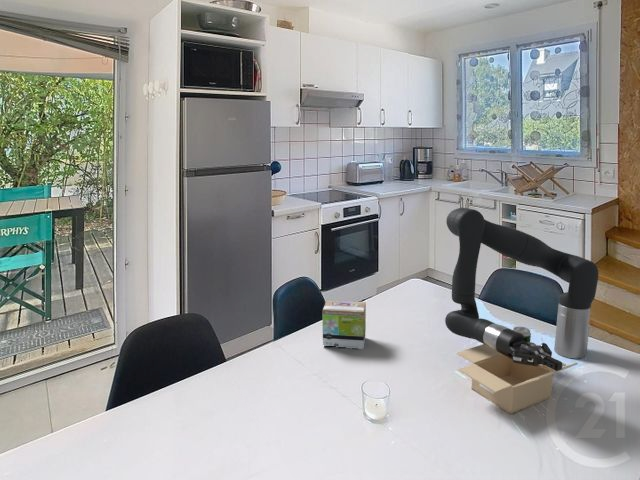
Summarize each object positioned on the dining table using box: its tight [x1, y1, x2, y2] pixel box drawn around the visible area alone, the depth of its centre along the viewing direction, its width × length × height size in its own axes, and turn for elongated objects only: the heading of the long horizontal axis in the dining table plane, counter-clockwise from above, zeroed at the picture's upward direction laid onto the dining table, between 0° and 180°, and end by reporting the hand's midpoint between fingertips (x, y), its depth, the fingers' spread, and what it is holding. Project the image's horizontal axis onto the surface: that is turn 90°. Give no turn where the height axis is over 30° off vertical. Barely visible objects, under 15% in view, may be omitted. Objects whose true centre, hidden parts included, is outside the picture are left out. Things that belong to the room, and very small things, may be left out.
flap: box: [515, 362, 578, 387], centre depth 113 cm, size 15×1×8 cm
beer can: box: [512, 326, 532, 342], centre depth 139 cm, size 5×5×12 cm
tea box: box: [321, 299, 367, 350], centre depth 158 cm, size 15×10×15 cm, turn 81°
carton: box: [456, 343, 567, 415], centre depth 127 cm, size 28×21×8 cm
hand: (560, 366), depth 109 cm, fingers closed
